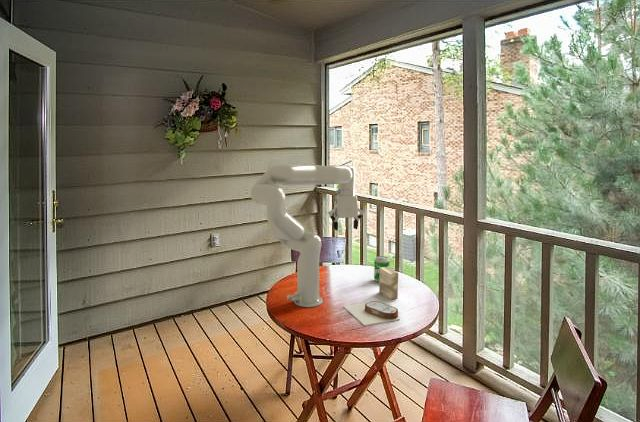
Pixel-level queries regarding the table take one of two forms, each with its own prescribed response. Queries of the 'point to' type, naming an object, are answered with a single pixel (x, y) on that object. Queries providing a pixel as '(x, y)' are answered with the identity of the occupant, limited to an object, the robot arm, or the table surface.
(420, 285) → the table surface
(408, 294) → the table surface
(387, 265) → the soda can
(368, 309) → the tin
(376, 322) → the mat
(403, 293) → the table surface
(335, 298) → the table surface
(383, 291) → the beige box
